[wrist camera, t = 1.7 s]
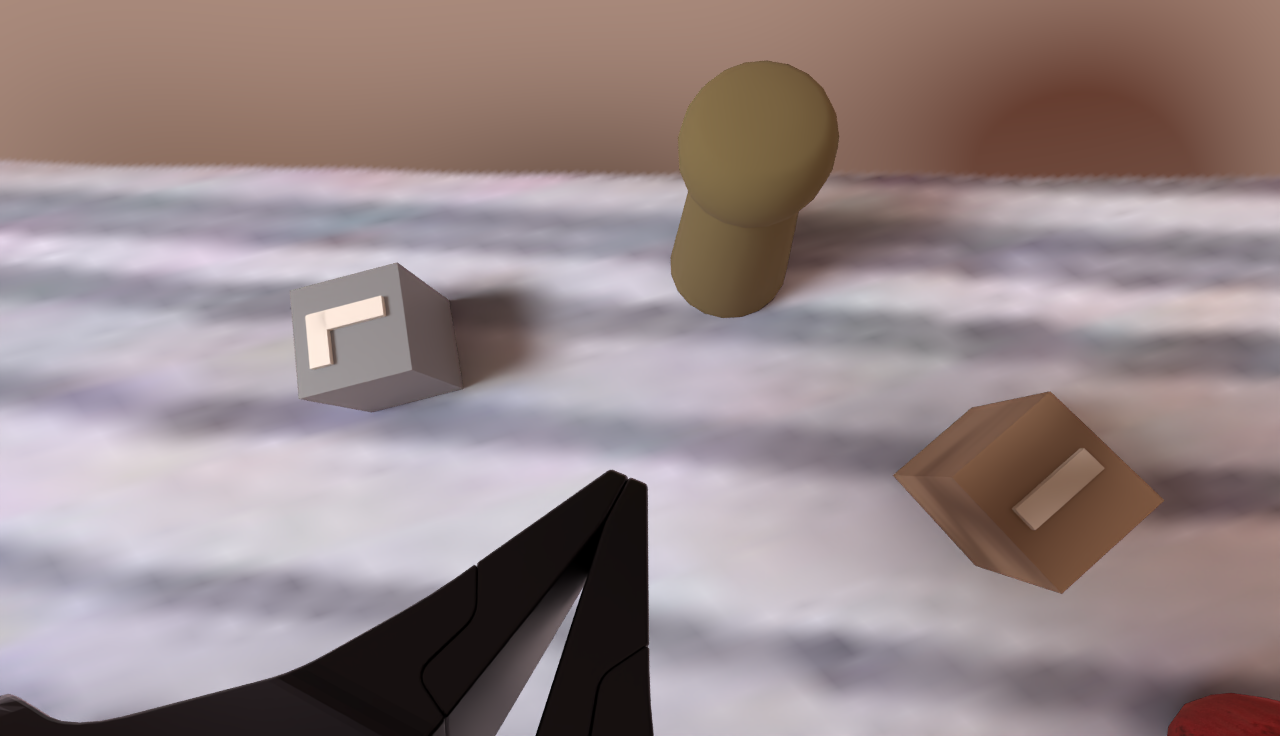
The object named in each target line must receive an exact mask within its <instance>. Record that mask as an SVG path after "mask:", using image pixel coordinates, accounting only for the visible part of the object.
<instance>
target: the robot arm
mask: <svg viewBox="0 0 1280 736" xmlns="http://www.w3.org/2000/svg"><path fill="white" fill-rule="evenodd" d="M583 586H584V587H583ZM582 588H583V590H582ZM581 590H582V593H581V596H580V599H579V602H578V606H577V609H576V612H575V615H574V618H573V621H572V624H571V627H570V630H569V634H568V637H567V640H566V643H565V646H564V649H563V652H562V655H561V658H560V661H559V665H558V668H557V671H556V674H555V677H554V680H553V683H552V686H551V689H550V692H549V696H548V699H547V702H546V705H545V708H544V711H543V714H542V717H541V720H540V723H539V727H538V730H537V733H536V736H654V734H653V723H652V712H651V698H650V673H649V648H648V645H649V590H648V487H647V485H646V484H645V483H643V482H641V481H638V480H636V479H633V478H629V479H628V477H627V476H626V475H624V474H621V473H619V472H617V471H614V470H609V471H607V472H605V473H604V474H603V475H601V476H600V477H598V478H597V479H596V480H594V481H593V482H591V483H590V484H588V485H587V486H586V487H584V488H583V489H581V490H580V491H579V492H577V493H576V494H574V495H573V496H571V497H570V498H569V499H567V500H566V501H564V502H563V503H562V504H560V505H559V506H557V507H556V508H554V509H553V510H552V511H550V512H549V513H547V514H546V515H545V516H543V517H542V518H540V519H539V520H537V521H536V522H535V523H533V524H532V525H530V526H529V527H527V528H526V529H525V530H523V531H522V532H520V533H519V534H518V535H516V536H515V537H513V538H512V539H510V540H509V541H508V542H506V543H505V544H503V545H502V546H501V547H499V548H498V549H496V550H495V551H493V552H492V553H491V554H489V555H488V556H486V557H485V558H484V559H482V560H481V561H479V562H478V563H477V566H476V565H473V566H472V567H470V568H469V569H468V570H466V571H465V572H463V573H462V574H461V575H459V576H458V577H456V578H455V579H453V580H452V581H450V582H449V583H447V584H446V585H444V586H443V587H441V588H440V589H438V590H437V591H435V592H434V593H432V594H431V595H429V596H427V597H426V598H424V599H422V600H421V601H419V602H417V603H416V604H414V605H412V606H410V607H409V608H407V609H405V610H404V611H402V612H400V613H399V614H397V615H395V616H393V617H391V618H390V619H388V620H386V621H384V622H383V623H381V624H379V625H377V626H375V627H374V628H372V629H370V630H368V631H366V632H365V633H363V634H361V635H359V636H358V637H356V638H354V639H352V640H350V641H349V642H347V643H345V644H343V645H341V646H340V647H338V648H336V649H334V650H333V651H331V652H329V653H327V654H325V655H323V656H322V657H320V658H318V659H316V660H314V661H312V662H310V663H308V664H306V665H304V666H302V667H299V668H297V669H294V670H292V671H289V672H287V673H284V674H281V675H278V676H275V677H272V678H269V679H265V680H261V681H257V682H254V683H250V684H246V685H242V686H238V687H234V688H230V689H227V690H223V691H219V692H215V693H211V694H207V695H204V696H200V697H196V698H192V699H188V700H184V701H180V702H177V703H173V704H169V705H165V706H161V707H157V708H153V709H150V710H146V711H142V712H138V713H134V714H130V715H127V716H123V717H118V718H113V719H108V720H103V721H93V722H81V723H78V722H67V721H60V720H58V719H55V718H52V717H50V716H48V715H47V714H45V713H44V712H42V711H40V710H39V709H37V708H36V707H34V706H32V705H31V704H29V703H27V702H26V701H24V700H22V699H21V698H19V697H17V696H14V695H11V694H6V695H1V696H0V736H495V735H496V734H497V732H498V730H499V729H500V727H501V725H502V724H503V722H504V720H505V718H506V717H507V715H508V713H509V712H510V710H511V708H512V707H513V705H514V703H515V702H516V700H517V698H518V696H519V695H520V693H521V691H522V690H523V688H524V686H525V685H526V683H527V681H528V680H529V678H530V676H531V674H532V673H533V671H534V669H535V668H536V666H537V664H538V663H539V661H540V659H541V658H542V656H543V654H544V652H545V651H546V649H547V647H548V646H549V644H550V642H551V641H552V639H553V637H554V636H555V634H556V632H557V630H558V629H559V627H560V625H561V624H562V622H563V620H564V619H565V617H566V615H567V614H568V612H569V610H570V608H571V607H572V605H573V603H574V602H575V600H576V598H577V597H578V595H579V593H580V592H581Z"/></svg>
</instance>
